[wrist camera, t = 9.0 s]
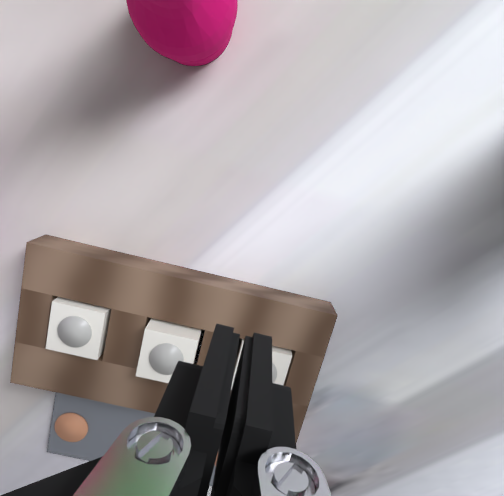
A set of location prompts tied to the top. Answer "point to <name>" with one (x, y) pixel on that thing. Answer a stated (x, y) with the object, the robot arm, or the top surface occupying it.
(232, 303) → the button board
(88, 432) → the pattern card
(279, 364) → the button
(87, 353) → the button
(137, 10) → the pepper mill
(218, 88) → the top surface
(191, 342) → the middle button
